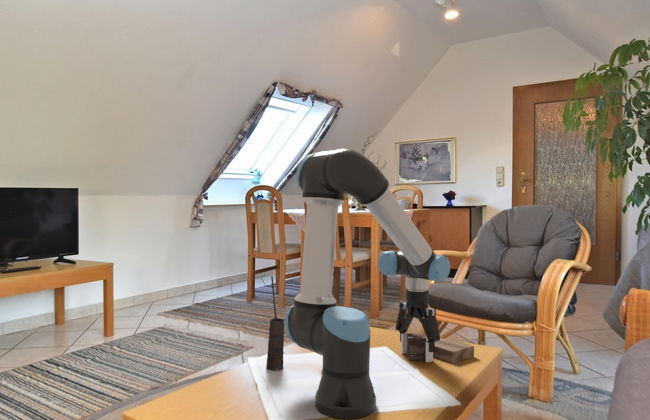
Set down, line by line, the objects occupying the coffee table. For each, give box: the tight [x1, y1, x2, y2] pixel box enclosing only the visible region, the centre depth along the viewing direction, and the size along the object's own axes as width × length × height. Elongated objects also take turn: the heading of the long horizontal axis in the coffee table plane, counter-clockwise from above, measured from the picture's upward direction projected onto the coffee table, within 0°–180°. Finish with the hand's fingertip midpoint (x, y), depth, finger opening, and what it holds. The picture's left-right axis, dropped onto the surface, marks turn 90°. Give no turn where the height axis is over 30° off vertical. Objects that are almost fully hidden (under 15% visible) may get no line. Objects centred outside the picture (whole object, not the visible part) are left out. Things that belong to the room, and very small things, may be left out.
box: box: [406, 332, 428, 362], centre depth 150 cm, size 6×6×7 cm
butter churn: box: [265, 275, 285, 371], centre depth 138 cm, size 9×10×28 cm
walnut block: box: [433, 337, 475, 364], centre depth 152 cm, size 11×11×4 cm
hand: (416, 356), depth 150 cm, fingers open, 10 cm apart
